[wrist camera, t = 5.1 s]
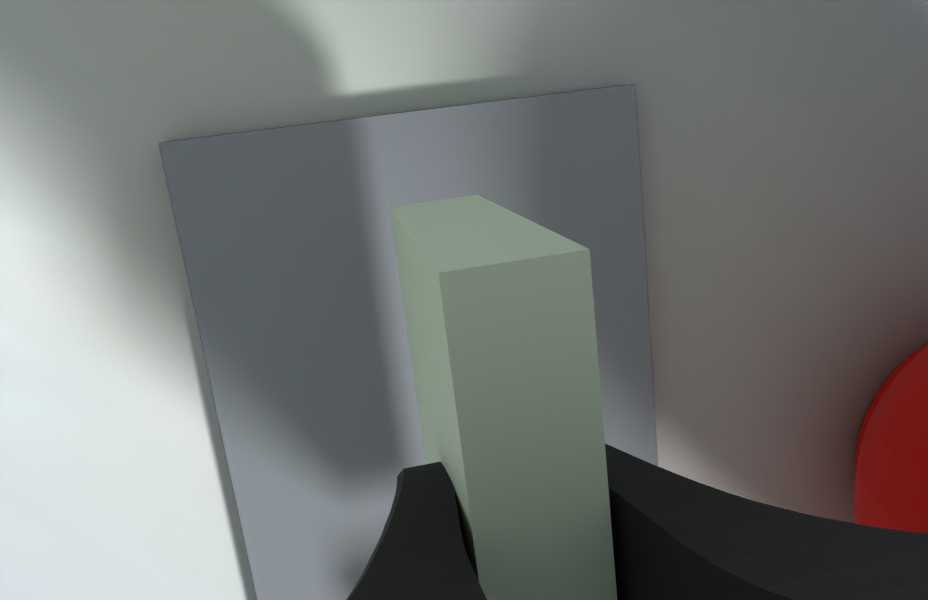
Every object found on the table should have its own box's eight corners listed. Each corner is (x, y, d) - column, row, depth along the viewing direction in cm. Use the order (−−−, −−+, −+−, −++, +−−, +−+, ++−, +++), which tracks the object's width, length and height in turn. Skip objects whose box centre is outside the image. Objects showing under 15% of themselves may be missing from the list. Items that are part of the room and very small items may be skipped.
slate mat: (626, 85, 17) (635, 83, 16) (655, 555, 20) (663, 566, 19) (163, 142, 16) (158, 143, 15) (270, 639, 19) (268, 653, 18)
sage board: (477, 194, 14) (589, 249, 8) (526, 623, 16) (641, 907, 10) (388, 207, 13) (438, 272, 8) (451, 639, 16) (526, 940, 10)
